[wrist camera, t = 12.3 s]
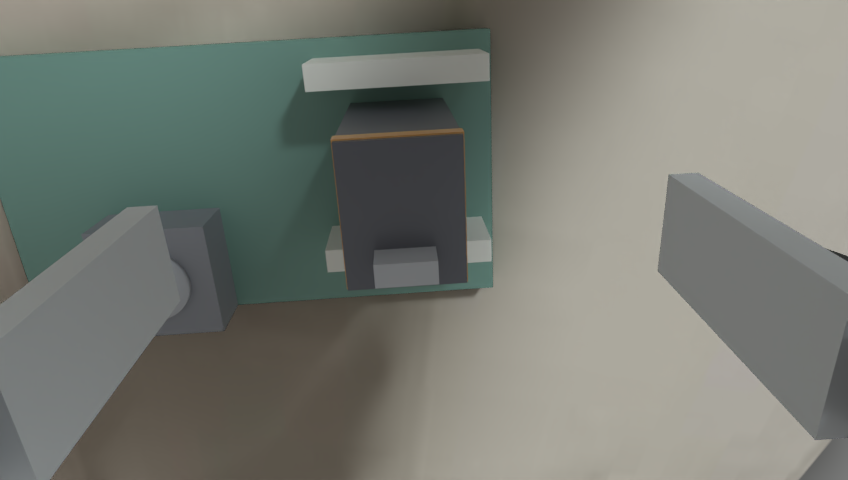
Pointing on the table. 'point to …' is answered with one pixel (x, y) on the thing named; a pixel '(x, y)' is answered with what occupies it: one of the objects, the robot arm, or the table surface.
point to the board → (227, 156)
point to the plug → (401, 194)
